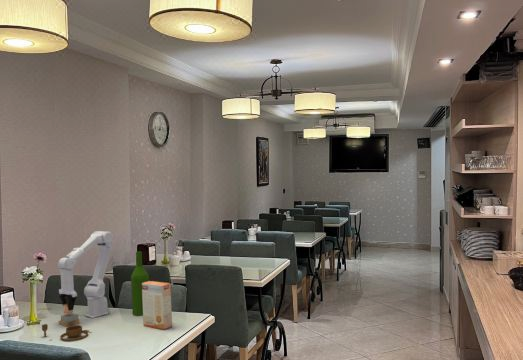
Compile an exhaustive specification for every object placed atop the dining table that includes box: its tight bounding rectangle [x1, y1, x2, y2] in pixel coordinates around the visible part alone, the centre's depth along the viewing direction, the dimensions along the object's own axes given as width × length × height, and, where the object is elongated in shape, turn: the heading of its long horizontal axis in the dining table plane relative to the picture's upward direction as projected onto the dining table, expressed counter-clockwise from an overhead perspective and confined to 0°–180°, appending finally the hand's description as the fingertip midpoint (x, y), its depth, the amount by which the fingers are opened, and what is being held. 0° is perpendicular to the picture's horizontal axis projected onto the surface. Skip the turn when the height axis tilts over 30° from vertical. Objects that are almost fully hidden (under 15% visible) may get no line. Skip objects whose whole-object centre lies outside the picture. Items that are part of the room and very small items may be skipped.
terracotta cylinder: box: [62, 304, 74, 315], centre depth 245 cm, size 4×4×4 cm
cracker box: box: [142, 280, 173, 331], centre depth 236 cm, size 14×6×21 cm, turn 55°
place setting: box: [41, 324, 92, 342], centre depth 227 cm, size 18×20×6 cm
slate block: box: [60, 312, 79, 323], centre depth 245 cm, size 6×6×2 cm
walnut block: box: [58, 318, 80, 328], centre depth 245 cm, size 7×7×2 cm
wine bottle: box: [130, 250, 150, 317], centre depth 259 cm, size 9×9×32 cm
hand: (68, 309), depth 245 cm, fingers closed on terracotta cylinder, 4 cm apart
